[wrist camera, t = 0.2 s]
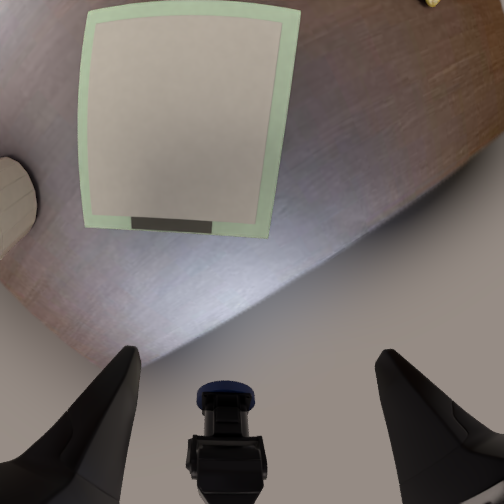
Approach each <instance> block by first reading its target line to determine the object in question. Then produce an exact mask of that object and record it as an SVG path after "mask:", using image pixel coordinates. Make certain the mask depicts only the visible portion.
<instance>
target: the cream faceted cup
mask: <svg viewBox="0 0 504 504" xmlns="http://www.w3.org/2000/svg"><path fill="white" fill-rule="evenodd" d="M36 211H37V201H36V195H35V190H34V187H33V184H32V182H31V180H30V177H29V175H28V173H27V172H26V171H25V169H24V168H23V167H22V166H21V165H20V164H19V162H17V161H15V160H13V159H11V158H8V157H1V158H0V260H1V259H2V258H3V257H4V256H5V255H6V254H7V253H8V252H9V251H10V250H11V249H12V248H13V247H14V246H15V245H16V244H17V243H18V242H19V241H20V240H21V239H22V238H23V237H24V236H25V235H26V234H27V233H28V232H29V231H30V229H31V227H32V226H33V224H34V222H35V218H36Z"/></svg>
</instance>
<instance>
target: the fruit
mask: <svg viewBox="0 0 504 504" xmlns="http://www.w3.org/2000/svg"><path fill="white" fill-rule="evenodd" d="M439 1H440V0H425V2H426V3H427V5H428V6H430V7H434V6H436V5H437V4H438V2H439Z"/></svg>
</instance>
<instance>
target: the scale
mask: <svg viewBox="0 0 504 504" xmlns="http://www.w3.org/2000/svg"><path fill="white" fill-rule="evenodd" d="M300 17H301V11H300V10H295V9H289V8H284V7H278V6H271V5H264V4H256V3H247V2H236V1H220V0H169V1H154V2H143V3H134V4H126V5H119V6H113V7H107V8H102V9H96V10H92V11H89V12H88V16H87V21H86V27H85V34H84V40H83V48H82V56H81V66H80V77H79V93H78V160H79V176H80V188H81V199H82V208H83V216H84V224H85V227H86V228H105V229H124V230H142V231H159V232H175V233H191V234H206V235H221V236H236V237H250V238H264V239H268V236H269V230H270V223H271V217H272V211H273V204H274V198H275V192H276V185H277V179H278V172H279V166H280V159H281V152H282V146H283V139H284V132H285V125H286V118H287V112H288V105H289V98H290V91H291V83H292V76H293V69H294V62H295V54H296V47H297V40H298V32H299V24H300Z"/></svg>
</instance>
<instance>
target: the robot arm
mask: <svg viewBox="0 0 504 504" xmlns="http://www.w3.org/2000/svg"><path fill="white" fill-rule="evenodd" d="M140 372H141V360H140V356H139V352H138V348H137V347H135V346H128V345H127V346H125V347H124V348H123V349H122V350H121V351H120V352H119V353H118V354H117V355H116V356H115V357H114V358H113V359H112V361H111V362H110V363H109V364H108V365H107V366H106V367H105V368H104V369H103V370H102V372H101V373H100V374H99V375H98V376H97V377H96V378H95V379H94V380H93V382H92V383H91V384H90V385H89V386H88V387H87V389H86V390H85V391H84V392H83V393H82V394H81V395H80V396H79V397H78V398H77V400H76V401H75V402H74V403H73V404H72V405H71V407H70V408H69V409H68V412H67V411H66V412H65V413H64V414H63V416H62V417H61V418H60V419H59V420H58V421H57V422H56V423H55V424H54V425H53V426H52V427H51V428H50V429H49V430H48V431H47V432H46V433H45V434H44V435H43V436H42V437H41V438H40V439H39V440H37V441H36V442H35V443H34V444H33V445H32V446H31V447H30V448H29V449H27V450H26V451H25V452H24V453H23V454H22V455H20V456H19V457H17V458H16V459H13V460H11V461H7V462H3V463H0V504H119V500H120V494H121V487H122V481H123V474H124V468H125V463H126V457H127V451H128V446H129V441H130V436H131V431H132V426H133V421H134V416H135V411H136V406H137V399H138V389H139V380H140ZM375 372H376V378H377V384H378V390H379V396H380V401H381V405H382V409H383V413H384V417H385V421H386V425H387V429H388V433H389V437H390V442H391V446H392V451H393V455H394V460H395V464H396V469H397V474H398V479H399V484H400V485H399V486H400V491H401V497H402V503H403V504H504V434H499V433H496V432H493V431H492V430H490V429H489V428H487V427H486V426H484V425H483V424H481V423H480V422H479V421H478V420H476V419H475V418H474V417H472V416H471V415H470V414H468V413H467V412H466V411H464V410H463V409H462V408H461V407H460V406H458V405H457V404H456V403H455V402H454V401H452V399H451V398H449V397H448V396H447V395H446V394H445V393H444V392H443V391H441V390H440V389H439V388H438V387H437V386H436V385H434V384H433V383H432V382H431V381H430V380H429V379H428V378H426V377H425V376H424V375H423V374H422V373H421V372H420V371H418V370H417V369H416V368H415V367H414V366H413V365H411V364H410V363H409V362H408V361H407V360H406V359H404V358H403V357H402V356H401V355H400V354H398V353H397V352H396V351H395V350H394V349H385V350H383V351H382V353H381V355H380V356H379V358H378V359H377V361H376V363H375ZM251 399H252V394H251V393H229V392H202V414H203V415H204V416H205V423H204V436H197V435H193V438H192V439H189V440H188V452H187V459H186V468H187V469H188V470H189V471H190V474H191V476H192V479H196V480H197V487H198V492H199V495H200V496H201V498H202V499H203V501H204V502H205V504H254V503H255V501H256V499H257V497H258V496H259V494H260V492H261V491H262V489H263V486H264V484H263V480H266V478H267V459H266V455H265V450H264V444H263V439H262V436H257V437H249V431H248V430H249V429H248V416H247V415H248V411H249V407H250V403H251Z"/></svg>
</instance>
